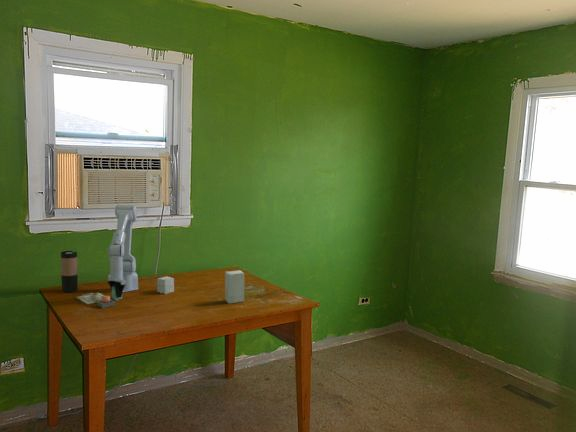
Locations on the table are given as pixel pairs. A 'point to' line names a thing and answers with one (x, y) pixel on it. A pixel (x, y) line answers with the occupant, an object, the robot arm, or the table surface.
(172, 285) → the skincare box
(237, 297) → the skincare box
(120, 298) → the teal banded box
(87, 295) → the clipboard with paper sheet
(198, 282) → the table surface
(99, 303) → the button housing
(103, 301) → the button
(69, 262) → the travel mug
